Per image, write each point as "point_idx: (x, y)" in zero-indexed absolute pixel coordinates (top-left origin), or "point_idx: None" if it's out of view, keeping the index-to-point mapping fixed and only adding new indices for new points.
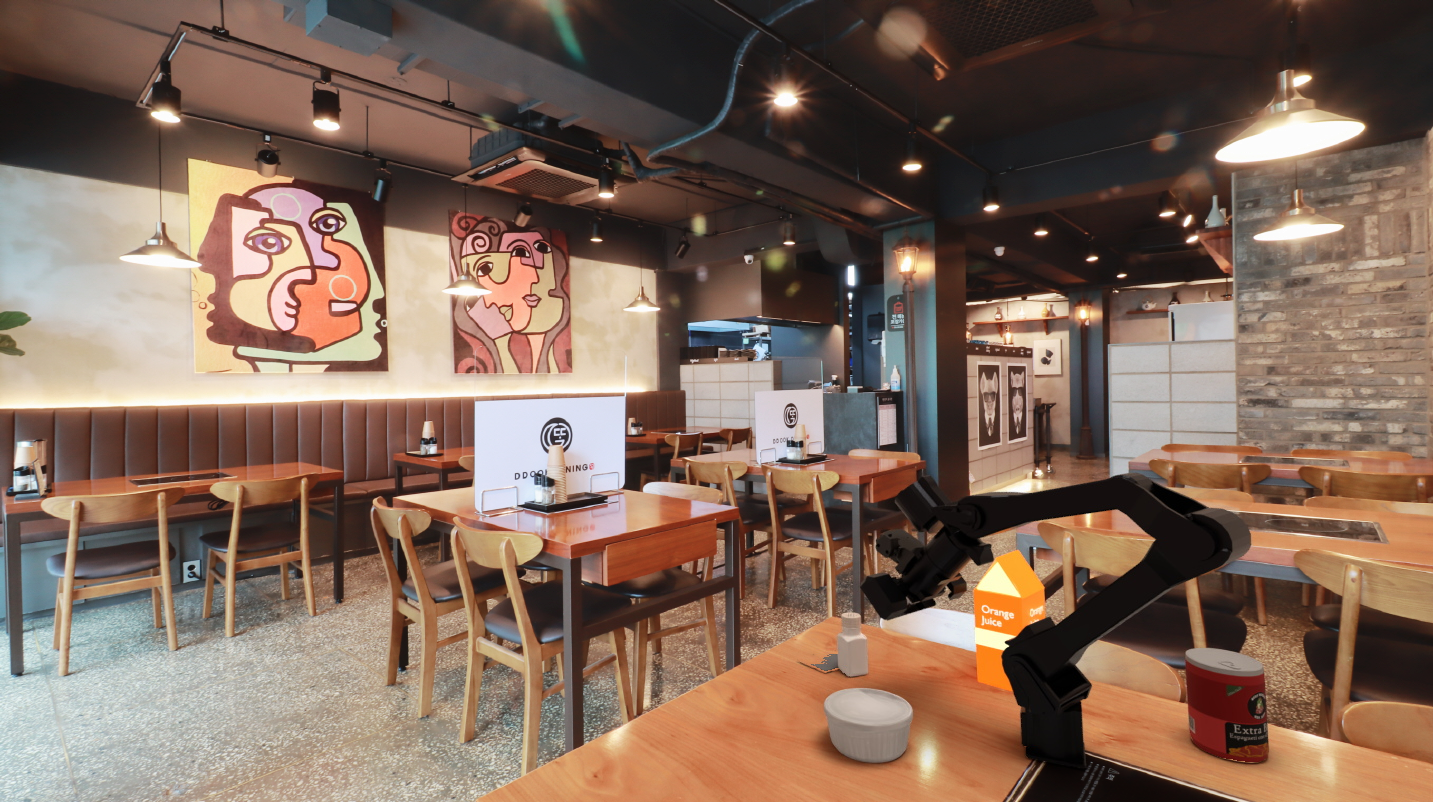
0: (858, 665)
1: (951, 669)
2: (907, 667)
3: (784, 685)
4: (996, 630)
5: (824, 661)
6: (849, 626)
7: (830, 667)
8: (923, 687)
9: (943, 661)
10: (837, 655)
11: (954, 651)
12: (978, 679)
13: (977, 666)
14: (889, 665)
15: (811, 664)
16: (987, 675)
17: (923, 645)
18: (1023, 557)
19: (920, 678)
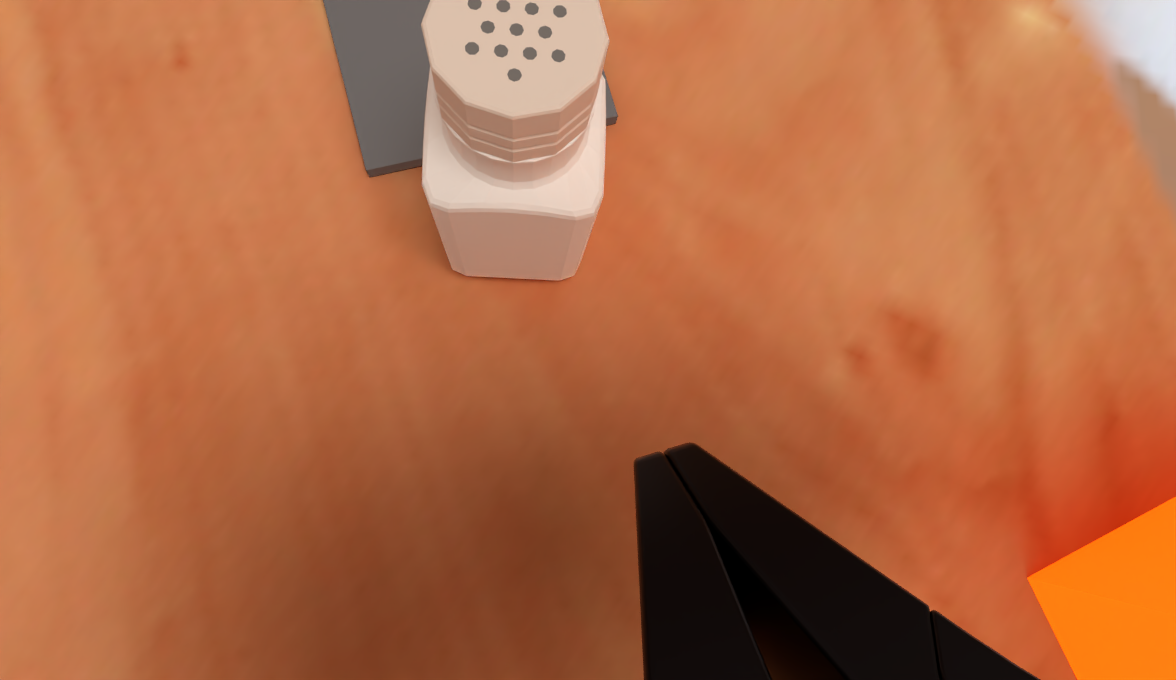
0: (511, 266)
1: (994, 394)
2: (809, 281)
3: (78, 213)
4: None
5: None
6: (459, 130)
7: (418, 142)
8: None
9: (1014, 293)
10: None
11: (1132, 209)
12: (1038, 584)
13: (1095, 598)
14: (739, 221)
15: (345, 63)
16: (1091, 642)
17: (1036, 80)
18: None
19: (791, 428)
